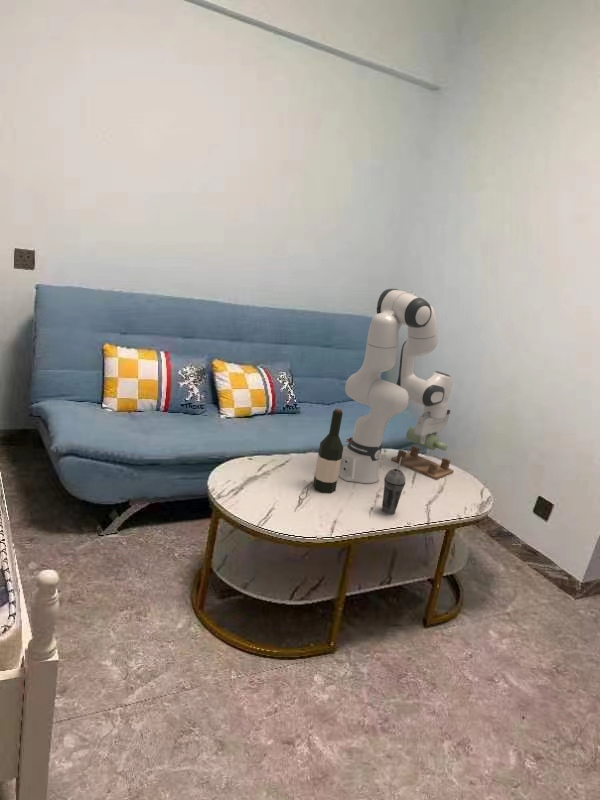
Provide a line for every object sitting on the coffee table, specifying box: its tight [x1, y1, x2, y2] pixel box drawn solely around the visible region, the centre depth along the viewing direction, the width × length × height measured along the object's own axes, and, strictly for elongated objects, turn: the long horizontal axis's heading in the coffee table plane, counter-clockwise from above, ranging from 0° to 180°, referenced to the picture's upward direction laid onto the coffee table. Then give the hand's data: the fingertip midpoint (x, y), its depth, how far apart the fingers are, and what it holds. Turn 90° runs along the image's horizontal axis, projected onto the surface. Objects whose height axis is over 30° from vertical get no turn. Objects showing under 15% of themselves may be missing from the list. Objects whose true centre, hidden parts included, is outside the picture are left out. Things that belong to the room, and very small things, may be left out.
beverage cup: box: [381, 457, 406, 516], centre depth 211 cm, size 7×7×20 cm
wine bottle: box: [312, 408, 344, 494], centre depth 219 cm, size 8×8×30 cm
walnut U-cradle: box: [390, 445, 454, 481], centre depth 259 cm, size 22×14×5 cm, turn 48°
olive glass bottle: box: [405, 426, 448, 452], centre depth 256 cm, size 6×6×17 cm
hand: (427, 442), depth 257 cm, fingers closed on olive glass bottle, 6 cm apart
